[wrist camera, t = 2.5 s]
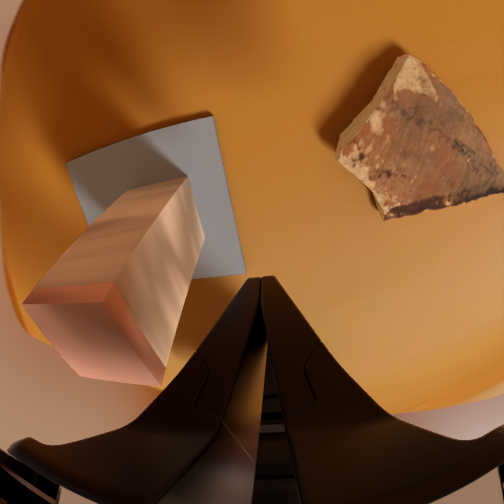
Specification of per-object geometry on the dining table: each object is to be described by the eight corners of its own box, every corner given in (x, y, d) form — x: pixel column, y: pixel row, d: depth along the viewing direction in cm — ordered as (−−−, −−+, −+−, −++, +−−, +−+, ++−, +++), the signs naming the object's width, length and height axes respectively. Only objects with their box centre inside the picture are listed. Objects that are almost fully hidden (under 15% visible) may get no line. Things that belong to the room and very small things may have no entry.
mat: (246, 269, 18) (246, 273, 18) (119, 283, 19) (117, 286, 19) (213, 115, 13) (212, 116, 13) (69, 161, 14) (65, 163, 14)
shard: (499, 180, 14) (516, 192, 12) (434, 263, 18) (447, 280, 17) (398, 49, 10) (417, 46, 9) (313, 164, 15) (321, 175, 13)
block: (204, 238, 17) (161, 385, 8) (147, 246, 17) (79, 376, 9) (188, 176, 14) (102, 301, 6) (127, 190, 15) (21, 304, 6)
